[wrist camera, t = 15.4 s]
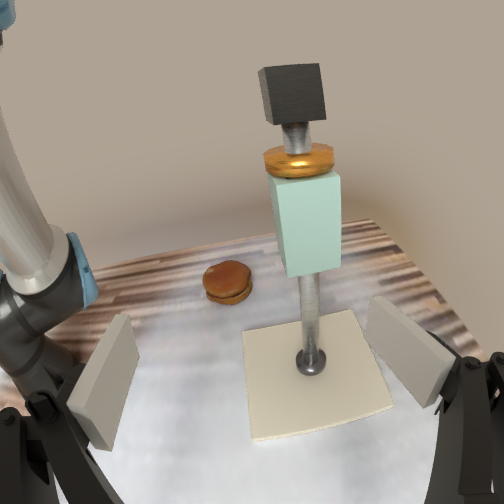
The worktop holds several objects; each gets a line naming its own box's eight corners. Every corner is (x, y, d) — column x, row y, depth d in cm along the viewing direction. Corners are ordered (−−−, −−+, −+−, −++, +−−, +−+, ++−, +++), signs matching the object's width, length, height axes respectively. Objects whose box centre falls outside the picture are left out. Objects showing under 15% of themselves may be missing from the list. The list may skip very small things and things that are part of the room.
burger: (252, 304, 49) (247, 285, 47) (203, 309, 50) (196, 290, 48) (253, 271, 57) (249, 252, 55) (210, 276, 59) (205, 258, 56)
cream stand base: (253, 441, 28) (251, 438, 27) (243, 337, 43) (241, 331, 42) (391, 408, 28) (393, 403, 27) (350, 314, 43) (351, 308, 42)
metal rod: (295, 387, 32) (252, 67, 14) (289, 356, 37) (246, 74, 18) (334, 378, 32) (334, 62, 13) (324, 348, 37) (311, 67, 18)
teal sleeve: (287, 278, 22) (276, 185, 18) (278, 248, 26) (266, 167, 22) (340, 267, 22) (339, 176, 18) (324, 239, 26) (319, 160, 22)
